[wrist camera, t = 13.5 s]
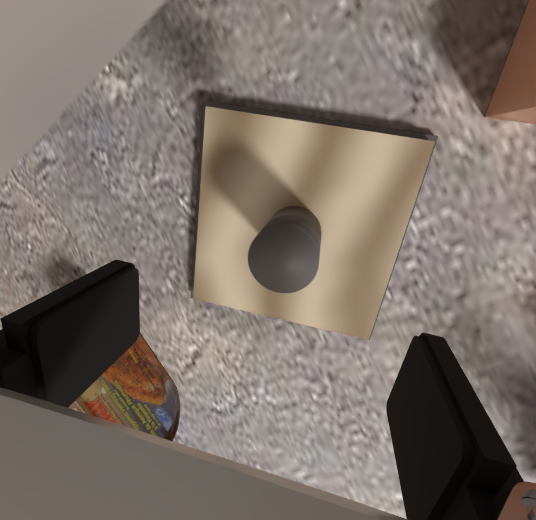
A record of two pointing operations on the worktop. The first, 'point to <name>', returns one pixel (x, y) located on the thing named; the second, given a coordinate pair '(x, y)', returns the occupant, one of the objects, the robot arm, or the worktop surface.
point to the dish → (518, 76)
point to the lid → (302, 217)
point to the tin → (135, 394)
